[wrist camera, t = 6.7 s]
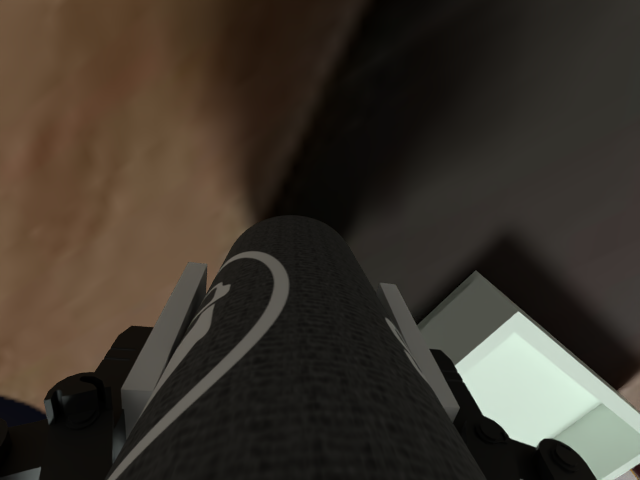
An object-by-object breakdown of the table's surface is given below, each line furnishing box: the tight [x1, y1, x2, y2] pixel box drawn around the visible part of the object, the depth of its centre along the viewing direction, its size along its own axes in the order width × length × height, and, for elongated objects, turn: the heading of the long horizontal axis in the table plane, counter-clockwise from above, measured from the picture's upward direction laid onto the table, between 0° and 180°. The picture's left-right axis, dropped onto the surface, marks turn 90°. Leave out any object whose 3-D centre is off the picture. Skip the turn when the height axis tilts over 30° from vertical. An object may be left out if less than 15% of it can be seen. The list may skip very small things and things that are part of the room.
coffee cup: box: [105, 215, 487, 480], centre depth 11 cm, size 10×10×15 cm
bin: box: [417, 270, 640, 480], centre depth 26 cm, size 19×19×4 cm
